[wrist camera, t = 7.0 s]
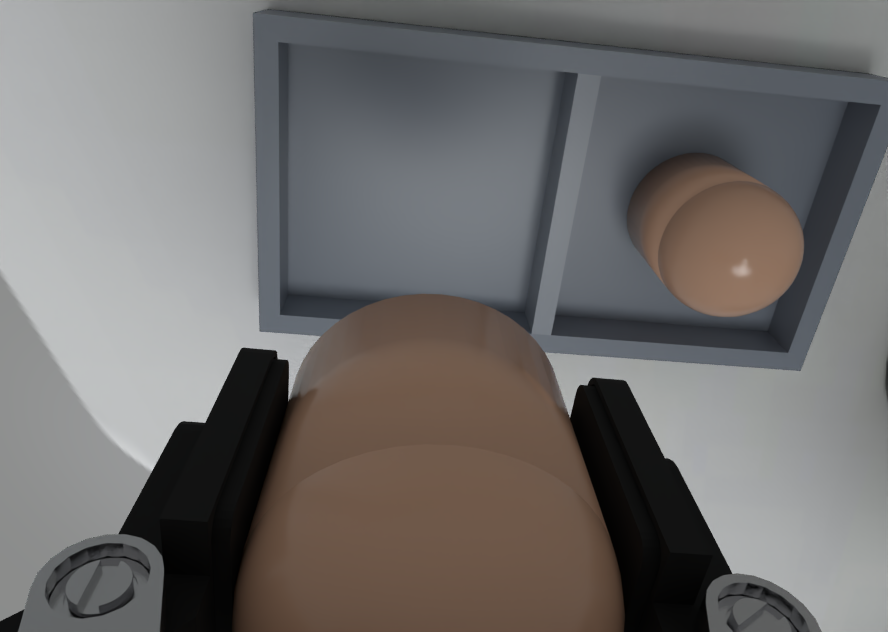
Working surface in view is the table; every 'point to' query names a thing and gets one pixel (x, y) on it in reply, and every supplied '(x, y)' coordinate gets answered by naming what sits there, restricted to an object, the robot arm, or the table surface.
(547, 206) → the divided grey tray
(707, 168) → the seated egg
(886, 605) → the table surface
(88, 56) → the table surface
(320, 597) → the egg
